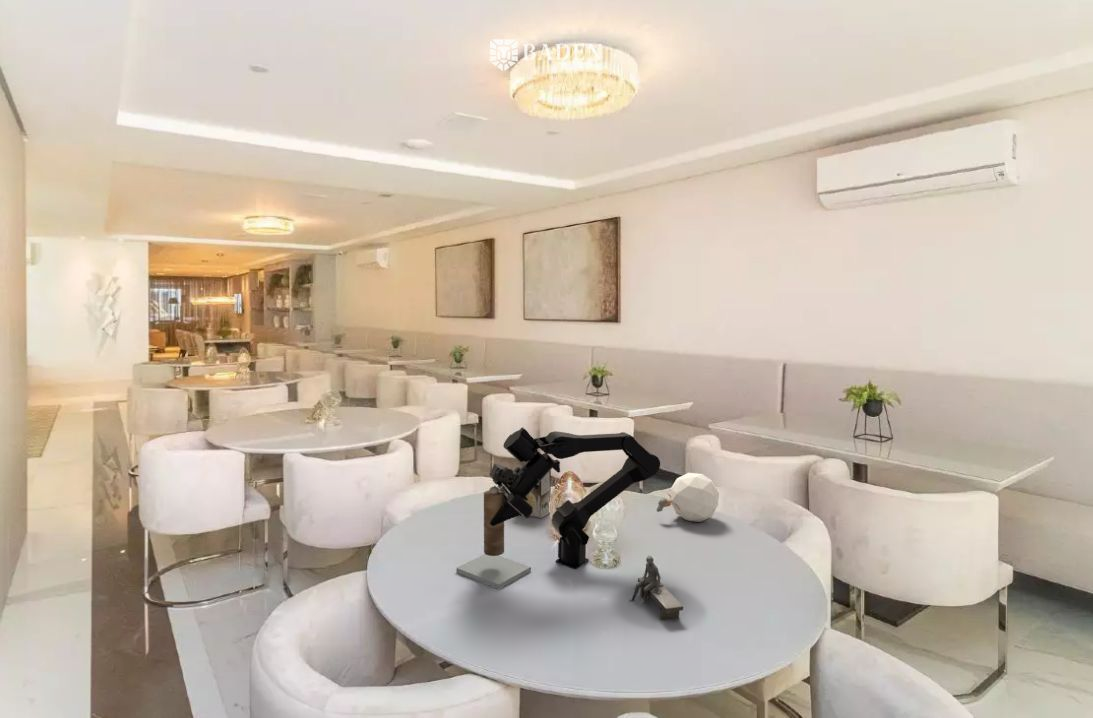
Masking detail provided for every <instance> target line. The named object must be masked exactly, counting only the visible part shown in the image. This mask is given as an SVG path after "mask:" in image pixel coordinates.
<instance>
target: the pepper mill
mask: <svg viewBox="0 0 1093 718" xmlns="http://www.w3.org/2000/svg"><path fill="white" fill-rule="evenodd" d="M502 497H504V492H503V491H501V490H498V488H497V486H496V487H494V486H491V487H490V488H489V490H488V489H487V490H486V491H484V492H483V553H484V554H486V555H489V556H498V555H499V556H501V555H503V554H504V553H505V521H504V522H502V523H499V524H497V525H495V526H492V525H490V522H491V520H492V518H493V517H494V516H495V514H496V513H497V511H498V510H499V509H500V507H501V506H502Z"/></svg>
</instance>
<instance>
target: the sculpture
mask: <svg viewBox="0 0 1093 718" xmlns="http://www.w3.org/2000/svg"><path fill="white" fill-rule="evenodd" d="M645 561H646V563H645V569H644V573H643V576H642V577H638V578H637V582H638V583H636V585H635V588H634V591H633V594H632V597H631V599H629V600H628V602H634V601H635V599H636V597H637V595H638V593H639V592H640V597H641V598H643V599H644V600H643V602H642V605H646V604H648V597H651V598H652V600H654V601H655V602H656V603H657V604H658V605H659V607H660V616H659V617H660V620H661V621H671V620H675V619H680V611H684V606H683V604H682V603H680V601H679V600H677V598H676V597H675V596H673V594H672V593H671V592H670V591H669V590H668V589H667V588H666V587H665V586H664V584H663V583H662V582H661V578H662V577H661V575H660V572H659V568H658V566H657V565H656V564H655V563H654V557H652V556H651V555H648V556H646V559H645ZM639 590H640V591H639Z"/></svg>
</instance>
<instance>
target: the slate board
mask: <svg viewBox="0 0 1093 718" xmlns="http://www.w3.org/2000/svg"><path fill="white" fill-rule="evenodd" d="M455 568H456V573H457V574H460V575H463V576H465V577H467V578H469V579H471V580H475V581H477V582H480V583H482V584H485V585H488V586H490V587H493V589H497V590H501V589H502V588H504V587H507V585H509V584H511V583H513V582H515V581H516V580H518V579H520V578H522V577H523V576H525V575H527V574H529V573H531V571H532V570H531V568H532V567H531V566H530V565H526V564H523V563H520V562H518V561H516V560H513V559H509V558H507V557H504V556H501V555H498V556H489V555H486V554H485V553H484V554H482V555H480V556H478V557H476V558H474V559H472V560H470V561H467V562H465V563H463V564H461V565H459V566H456V567H455Z"/></svg>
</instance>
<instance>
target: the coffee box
mask: <svg viewBox="0 0 1093 718" xmlns="http://www.w3.org/2000/svg"><path fill="white" fill-rule="evenodd" d="M525 463H526V462H525V461H523V462H519V463H517V467H519V468H522V467H523V466H524V465H525ZM524 467H525V466H524ZM525 468H526V467H525ZM526 469H527V468H526ZM551 470H552V469H551ZM551 470H550V471H549V472H548V473H547V475H546V476H545V477H544V478H543V479H542V480H541V481H540V480H539V481H540V482H539V483H538V484H537V485H538V486H539V488H538V489H535V488H534V489H533V490H532V491H531V492H530V493H529V494H528V495H527V498H528V500H527V502H528V503H529V504H530V505H531V506H532V507H533V513H532V514H531V515H530V516H529V517H535V518H539V519H542V518H544V517H545V516H547V515H549V514H550V513H549V502H550V497H551V498H552V496H551V495H552V494H551V487H552V485H551V484H552V483H551V481H552V477H551V476H552V475H551V474H552V473H551V472H552V471H551Z"/></svg>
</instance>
